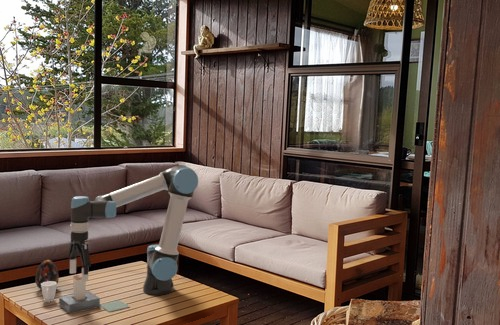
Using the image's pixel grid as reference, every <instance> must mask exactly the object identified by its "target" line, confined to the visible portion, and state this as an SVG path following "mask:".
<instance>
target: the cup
mask: <svg viewBox="0 0 500 325" xmlns="http://www.w3.org/2000/svg"><path fill="white" fill-rule="evenodd" d="M57 285H58V284H57V283H56V282H54V281H47V282H43V283H42V284H41V288H42V291H41V293H42V296H43V301H44V302H45V303H50V301H51V302H53V301H55V299H54V298H55V296H56V291H57Z"/></svg>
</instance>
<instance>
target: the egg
mask: <svg viewBox="0 0 500 325" xmlns="http://www.w3.org/2000/svg"><path fill="white" fill-rule="evenodd" d="M58 270H59V269H58V268H57V266H56V264H55V263H54V262H53V261H52V260H50V259H45V260H43V261H42V262H41V263H40V264H39V265H38V268H37V271H36V274H35V279H34V280H35V285H36V286H37V288H38V289H40V292H42V288H41V284H42V283H43V282H47V281H54V282H56V283H57V285H58V283H59V280H60V279H59V277H60V276H59V271H58Z"/></svg>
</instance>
